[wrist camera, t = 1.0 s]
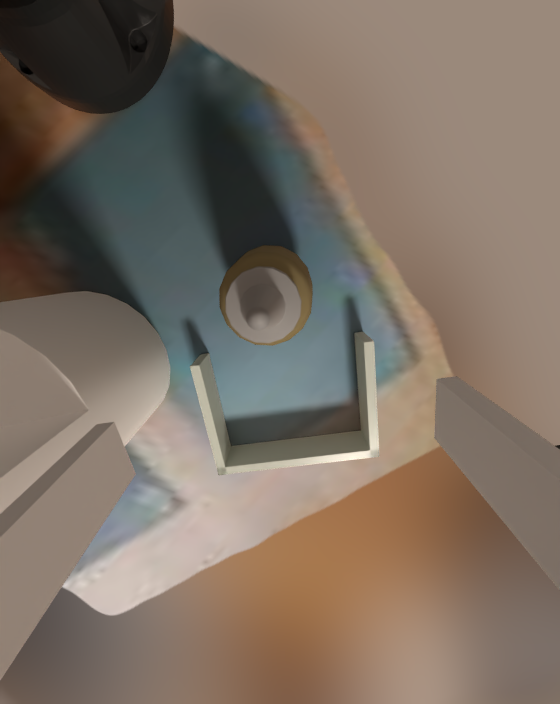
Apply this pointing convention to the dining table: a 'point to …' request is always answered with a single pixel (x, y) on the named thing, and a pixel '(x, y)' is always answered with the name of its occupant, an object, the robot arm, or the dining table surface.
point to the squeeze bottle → (266, 295)
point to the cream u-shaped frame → (296, 448)
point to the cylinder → (71, 378)
